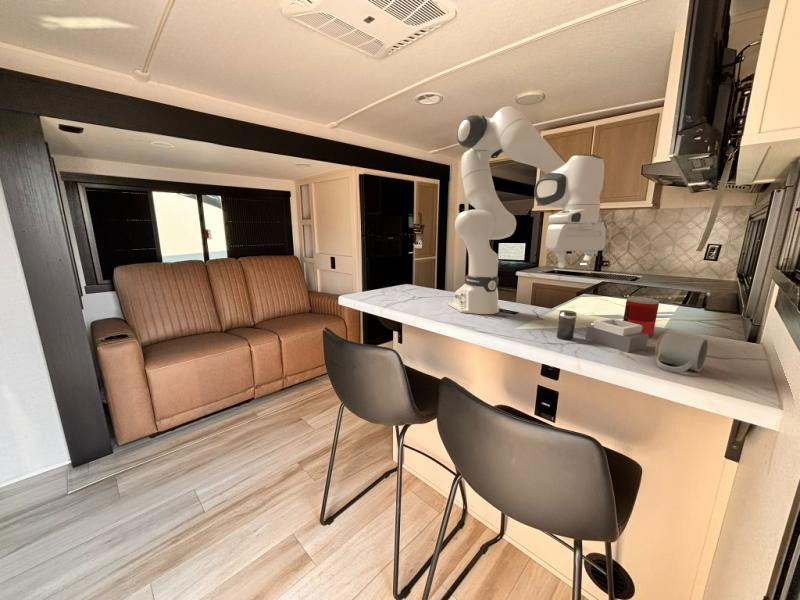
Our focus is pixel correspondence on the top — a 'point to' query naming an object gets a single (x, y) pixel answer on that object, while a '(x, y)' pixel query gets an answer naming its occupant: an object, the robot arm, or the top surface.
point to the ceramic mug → (681, 352)
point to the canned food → (642, 313)
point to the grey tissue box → (617, 334)
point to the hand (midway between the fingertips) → (573, 267)
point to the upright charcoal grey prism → (566, 325)
